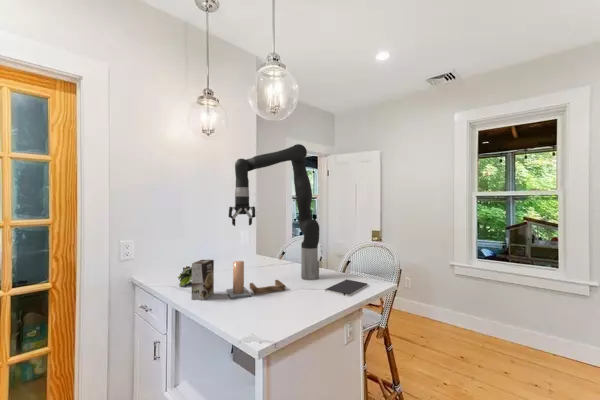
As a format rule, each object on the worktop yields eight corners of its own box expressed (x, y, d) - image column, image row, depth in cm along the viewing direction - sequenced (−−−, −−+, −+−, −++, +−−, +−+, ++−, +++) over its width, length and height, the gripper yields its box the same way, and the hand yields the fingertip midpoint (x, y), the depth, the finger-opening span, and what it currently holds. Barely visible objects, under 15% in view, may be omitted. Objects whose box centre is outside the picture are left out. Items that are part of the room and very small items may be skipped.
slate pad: (244, 288, 142) (244, 286, 142) (250, 296, 131) (250, 294, 131) (226, 291, 139) (226, 289, 139) (230, 299, 128) (230, 297, 128)
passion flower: (186, 292, 153) (192, 271, 160) (201, 291, 149) (208, 269, 156) (170, 285, 145) (178, 263, 152) (186, 284, 141) (193, 261, 148)
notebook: (346, 282, 156) (325, 292, 139) (346, 279, 156) (325, 289, 139) (368, 286, 148) (348, 297, 131) (368, 283, 148) (348, 294, 131)
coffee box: (204, 300, 126) (204, 263, 126) (190, 299, 128) (190, 263, 127) (214, 293, 135) (214, 259, 135) (201, 292, 136) (201, 258, 136)
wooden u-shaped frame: (277, 284, 150) (277, 279, 150) (285, 290, 140) (285, 285, 140) (249, 288, 144) (249, 283, 144) (255, 294, 134) (255, 289, 134)
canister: (242, 289, 138) (242, 260, 138) (244, 292, 133) (245, 262, 133) (232, 291, 136) (232, 261, 136) (234, 294, 131) (234, 263, 131)
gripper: (230, 195, 150) (230, 226, 150) (256, 195, 156) (256, 225, 156) (227, 195, 157) (227, 225, 157) (253, 195, 163) (253, 224, 163)
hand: (242, 225), depth 157 cm, fingers open, 8 cm apart
